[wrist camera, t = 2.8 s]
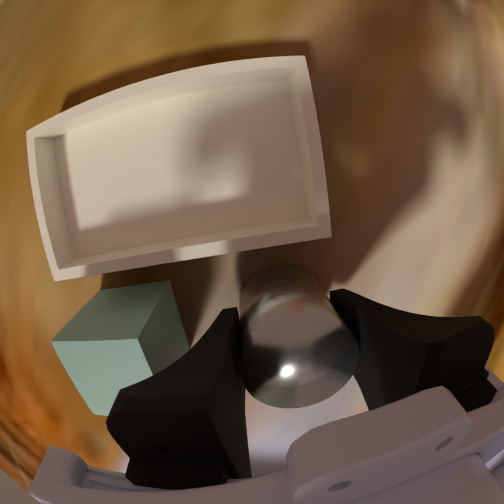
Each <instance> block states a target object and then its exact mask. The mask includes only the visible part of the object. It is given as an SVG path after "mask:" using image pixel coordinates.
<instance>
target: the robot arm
mask: <svg viewBox="0 0 504 504" xmlns="http://www.w3.org/2000/svg"><path fill="white" fill-rule="evenodd" d="M330 301H331V302H332V304H333V305H334V307H335V308H336V310H337V311H338V313H339V314H340V316H341V317H342V319H343V320H344V322H345V323H346V325H347V326H348V328H349V329H350V331H351V332H352V334H353V336H354V337H355V339H356V341H357V344H358V348H359V359H358V364H357V367H356V369H355V371H354V373H353V375H354V377H355V379H356V381H357V383H358V385H359V387H360V389H361V391H362V394H363V396H364V399H365V401H366V404H367V407H368V409H369V411H367V412H364V413H361V414H357V415H354V416H351V417H347V418H344V419H340V420H336V421H332V422H330V423H327V424H324V425H322V426H319V427H316V428H314V429H311V430H309V431H308V432H307V433H305V434H304V435H302V436H301V437H300V438H298V439H297V440H295V441H294V442H293V443H292V444H291V446H290V448H289V450H288V453H287V455H286V458H287V465H288V467H287V469H284V470H281V471H278V472H274V473H270V474H267V475H263V476H259V477H255V478H252V475H251V468H250V459H249V450H248V440H247V430H246V418H245V389H246V387H245V386H244V383H243V381H242V375H241V347H240V320H239V315H238V310H237V307H234V308H227V309H223V310H222V311H221V312H220V314H219V315H218V316H217V318H216V319H215V321H214V322H213V324H212V325H211V326H210V328H209V329H208V330H207V331H206V333H205V334H204V335H203V336H202V337H201V338H200V340H199V341H198V342H197V343H196V344H195V345H194V346H193V347H192V348H191V349H190V350H189V351H188V352H186V353H185V354H184V355H183V356H182V357H180V358H179V359H178V360H176V361H175V362H173V363H172V364H171V365H169V366H168V367H166V368H165V369H163V370H161V371H160V372H158V373H156V374H154V375H153V376H151V377H149V378H147V379H145V380H142V381H140V382H138V383H135V384H133V385H130V386H128V387H125V388H122V389H120V390H119V392H118V394H117V396H116V399H115V401H114V403H113V405H112V408H111V410H110V412H109V415H108V417H107V421H106V425H107V429H108V431H109V432H110V434H111V436H112V437H113V439H114V440H115V441H116V442H117V443H118V445H119V446H120V447H121V448H122V449H123V451H124V452H125V453H126V454H127V455H128V456H129V458H130V460H129V463H128V467H127V471H126V473H120V472H114V471H109V470H104V469H100V468H95V467H91V466H88V465H87V464H86V463H85V462H84V460H83V459H82V458H81V457H79V456H78V455H76V454H75V453H73V452H70V451H67V450H64V449H60V448H57V447H54V446H49V448H48V450H47V452H46V454H45V456H44V459H43V461H42V463H41V465H40V467H39V469H38V471H37V473H36V476H35V478H34V480H33V482H32V485H31V487H30V489H29V494H30V495H32V496H33V497H34V498H35V499H37V500H38V501H40V502H41V503H42V504H504V382H502V381H501V380H500V379H499V378H498V377H497V376H496V375H495V374H494V373H493V372H492V371H491V370H490V369H489V368H488V367H487V366H486V362H487V360H488V357H489V355H490V352H491V349H492V346H493V342H494V329H493V327H492V326H491V325H490V324H489V323H488V322H487V321H485V320H484V319H483V318H482V317H480V316H470V317H435V316H427V315H420V314H414V313H410V312H406V311H402V310H398V309H394V308H391V307H389V306H386V305H383V304H380V303H377V302H375V301H372V300H370V299H368V298H365V297H363V296H361V295H358V294H356V293H354V292H351V291H349V290H346V289H338V290H333V291H330Z"/></svg>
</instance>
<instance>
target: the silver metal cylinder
mask: <svg viewBox="0 0 504 504" xmlns="http://www.w3.org/2000/svg"><path fill="white" fill-rule="evenodd" d="M239 306H240V347H241V375H242V381H243V383H244V386H245V387H246V389H247V391H248V392H249V393H250V394H251V395H252V396H253V397H254V398H256V399H257V400H259V401H260V402H262V403H264V404H267V405H270V406H274V407H279V408H299V407H305V406H309V405H313V404H316V403H318V402H321V401H323V400H325V399H327V398H329V397H330V396H332V395H333V394H335V393H336V392H338V391H339V390H340V389H341V388H342V387H343V386H344V385H345V384H346V383H347V382H348V381H349V379H350V378H351V377H352V375H353V373H354V371H355V369H356V367H357V364H358V359H359V348H358V344H357V341H356V339H355V337H354V336H353V334H352V332H351V331H350V329H349V328H348V326H347V325H346V323H345V322H344V320H343V319H342V317H341V316H340V314H339V313H338V311H337V310H336V308H335V307H334V305H333V304H332V302H331V301H330V300H329V298H328V297H327V295H326V294H325V292H324V291H323V289H322V288H321V286H320V285H319V283H318V282H317V281H316V279H315V278H314V277H313V275H312V274H311V273H309V272H308V271H307V270H305V269H304V268H302V267H300V266H297V265H293V264H285V263H281V264H274V265H270V266H267V267H265V268H263V269H261V270H259V271H258V272H256V273H255V274H254V275H252V276H251V277H250V278H249V280H248V281H247V282H246V284H245V285H244V287H243V289H242V292H241V295H240V303H239Z"/></svg>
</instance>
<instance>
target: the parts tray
mask: <svg viewBox="0 0 504 504" xmlns="http://www.w3.org/2000/svg"><path fill="white" fill-rule="evenodd" d="M26 135H27V151H28V162H29V171H30V179H31V186H32V192H33V198H34V204H35V209H36V214H37V219H38V224H39V228H40V232H41V236H42V240H43V244H44V248H45V252H46V255H47V259H48V262H49V265H50V269H51V272H52V275H53V278H54V281H60V280H66V279H72V278H78V277H84V276H91V275H97V274H103V273H109V272H115V271H121V270H128V269H134V268H140V267H146V266H152V265H159V264H165V263H171V262H177V261H184V260H190V259H196V258H202V257H209V256H215V255H221V254H227V253H234V252H240V251H246V250H253V249H259V248H265V247H272V246H278V245H284V244H291V243H297V242H303V241H310V240H316V239H322V238H329V237H332V234H331V222H330V211H329V200H328V191H327V182H326V174H325V166H324V158H323V151H322V144H321V137H320V131H319V125H318V119H317V113H316V108H315V102H314V97H313V92H312V87H311V82H310V77H309V72H308V68H307V63H306V59H305V56H280V57H265V58H254V59H245V60H236V61H229V62H222V63H216V64H210V65H205V66H199V67H194V68H190V69H185V70H181V71H176V72H172V73H168V74H164V75H161V76H157V77H153V78H150V79H146V80H143V81H140V82H137V83H133V84H130V85H127V86H124V87H122V88H119V89H116V90H113V91H110V92H108V93H105V94H103V95H100V96H97V97H95V98H93V99H90V100H88V101H85V102H83V103H81V104H79V105H76V106H74V107H72V108H70V109H68V110H66V111H64V112H61V113H59V114H57V115H55V116H53V117H52V118H50V119H48V120H46V121H44V122H42V123H40V124H38V125H37V126H35V127H33V128H31V129H30V130H28V131H26Z"/></svg>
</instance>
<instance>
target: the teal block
mask: <svg viewBox="0 0 504 504" xmlns="http://www.w3.org/2000/svg"><path fill="white" fill-rule="evenodd" d="M51 343H52V345H53V347H54V349H55V351H56V353H57V354H58V356H59V358H60V360H61V362H62V364H63V366H64V367H65V369H66V371H67V373H68V375H69V376H70V378H71V380H72V381H73V383H74V385H75V386H76V388H77V390H78V391H79V393H80V394H81V396H82V397H83V399H84V400H85V402H86V403H87V405H88V406H89V408H90V409H91V411H92V412H93V414H97V415H105V416H108V415H109V412H110V410H111V408H112V405H113V403H114V401H115V399H116V396H117V394H118V392H119V390H120V389H122V388H125V387H128V386H130V385H133V384H135V383H138V382H140V381H142V380H145V379H147V378H149V377H151V376H153V375H154V374H156V373H158V372H160V371H161V370H163V369H165V368H166V367H168V366H169V365H171V364H172V363H173V362H175V361H176V360H178V359H179V358H180V357H182V356H183V355H184V354H185V353H186V352H188V351H189V350H190V346H189V343H188V340H187V337H186V334H185V331H184V327H183V324H182V321H181V317H180V314H179V311H178V307H177V304H176V300H175V297H174V293H173V289H172V286H171V282H170V280H168V281H161V282H154V283H147V284H140V285H132V286H125V287H118V288H110V289H103V290H100V291H99V292H98V293H97V294H96V295H95V296H94V297H93V298H92V299H91V300H90V301H89V302H88V303H87V304H86V305H85V306H84V307H83V308H82V309H81V310H80V311H79V312H78V313H77V314H76V315H75V316H74V317H73V318H72V319H71V320H70V321H69V322H68V323H67V324H66V325H65V326H64V327H63V328H62V330H61V331H60V332H59V333H58V334H57V335H56V336H55V337H54V338H53V339H52V340H51Z"/></svg>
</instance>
